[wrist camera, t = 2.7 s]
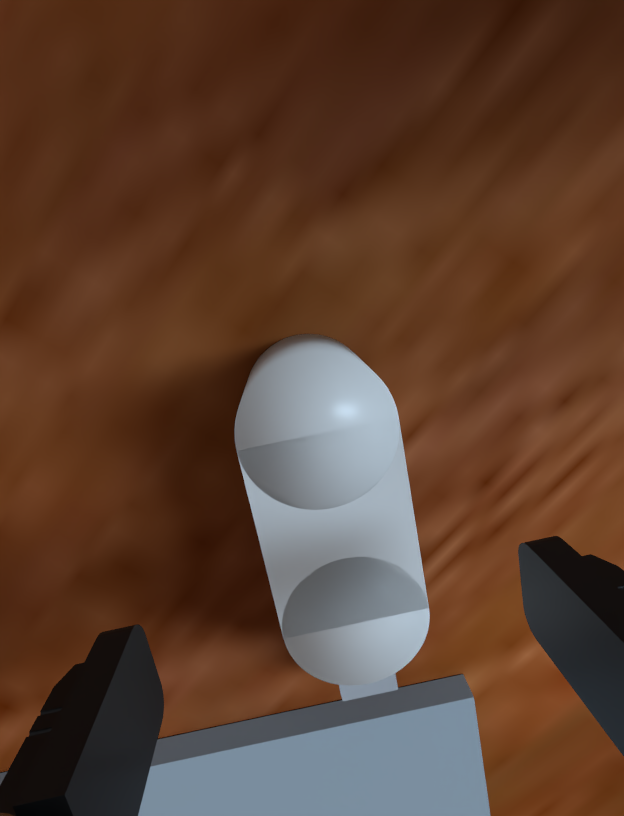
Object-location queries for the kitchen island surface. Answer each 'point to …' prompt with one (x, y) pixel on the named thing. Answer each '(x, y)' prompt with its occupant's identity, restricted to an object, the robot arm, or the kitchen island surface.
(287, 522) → the rounded plug
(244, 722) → the cutting board
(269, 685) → the kitchen island surface
